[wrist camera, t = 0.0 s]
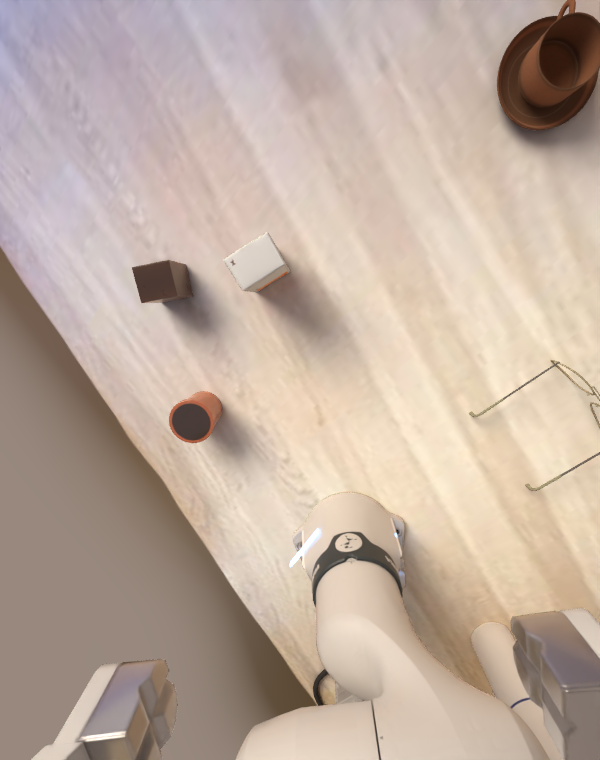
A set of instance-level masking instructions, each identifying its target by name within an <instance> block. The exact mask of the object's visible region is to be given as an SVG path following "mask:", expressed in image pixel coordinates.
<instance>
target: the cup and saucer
mask: <svg viewBox="0 0 600 760" xmlns="http://www.w3.org/2000/svg"><path fill="white" fill-rule="evenodd" d="M575 5H576V2H575V0H567V1H566V2H565V3H564V5H563V7H562V8H561V10H560V12H559V15H558V16H551V17H545V18H542V19H539V20H537V21H535V22H533V23H531V24H529V25H528V26H527V27H525V28H524V29H523V30H522V31H520V32H519V33H518V34H517V35H516V37H515V38H514V39H513V40H512V42H511V43H510V45H509V46H508V48H507V50H506V51H505V54H504V56H503V58H502V61H501V63H500V67H499V71H498V78H497V91H498V96H499V100H500V103H501V106H502V108H503V110H504V111H505V113H506V114H507V115H508V117H509V118H510V119H511V120H512V121H514V122H515V123H516V124H518V125H520V126H522V127H524V128H527V129H531V130H546V129H550V128H553V127H556V126H559V125H561V124H563V123H565V122H567V121H568V120H570V119H571V118H572V117H574V116H575V115H576V114H577V113H578V112H579V111H580V110H581V109H582V108H583V107H584V105H585V104H586V103H587V101H588V99H589V98H590V96H591V94H592V92H593V90H594V87H595V84H596V81H597V77H598V71H599V68H600V23H599V22H598V20H596V19H595V18H594V17H593V16H591V15H589V14H586V13H580V12H576V13H575ZM568 6H569V14H567V15H565V16H563V15H564V12H565V10H566V9H567V7H568Z"/></svg>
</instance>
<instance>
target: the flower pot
mask: <svg viewBox="0 0 600 760" xmlns="http://www.w3.org/2000/svg"><path fill="white" fill-rule="evenodd" d="M221 413H222V405H221V402H220V401H219V399H218V398H217V397H216V396H215V395H214V394H212V393H210V392H205V391H202V392H197V393H195V394H194V395H192V396H191V397H190V398H189V399H186V400H183V401H181V402H179V403H178V404H177V405H175V406H174V407H173V409H172V410H171V413H170V416H169V424H170V427H171V430H172V431H173V433H174V434H175V435H176V436H177V437H178V438H179V439H181V440H183V441H185V442H189V443H198V442H201V441H203V440H205V439H206V438H208V437H209V436H210V434H211V433H212V431H213V429H214V427H215V423H216V422H217V421H218V419H219V418H220V416H221Z"/></svg>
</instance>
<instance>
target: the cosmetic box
mask: <svg viewBox="0 0 600 760" xmlns="http://www.w3.org/2000/svg"><path fill="white" fill-rule="evenodd" d="M223 261H224V262H225V264H226V265H227V267H228V268H229V270H230V272H231V273H232V275H233V276H234V278H235V280H236V281H237V283H238V284H239V286H240V288H241V289H242V291H250V292H258V291H260V290H261V289H263V288H264V287H266V286H267V285H269V284H270V283H272V282H274V281H275V280H277V279H279V278H280V277H282V276H284V275H285V274H287V273H289V272H290V270H289V268H288V266H287V264H286V262H285V261H284V259H283V257H282V255H281V253H280V252H279V250H278V248H277V246H276V245H275V243H274V242H273V240H272V238H271V237H270V235H269V233H268V232H267V233H265V234H263V235H261V236H260V237H258V238H257V239H255V240H253V241H252V242H250V243H248V244H246V245H245V246H243V247H242V248H240V249H239V250H237V251H236V252H234V253H233V254H231V255H230V256H228V257H227V258H225V259H224V260H223Z"/></svg>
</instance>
